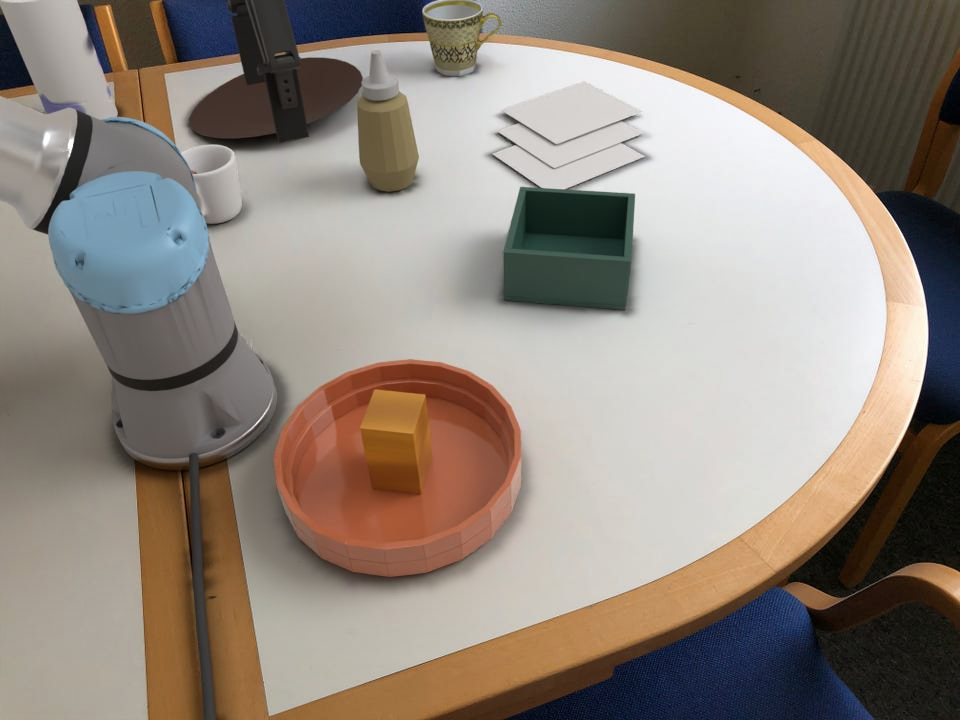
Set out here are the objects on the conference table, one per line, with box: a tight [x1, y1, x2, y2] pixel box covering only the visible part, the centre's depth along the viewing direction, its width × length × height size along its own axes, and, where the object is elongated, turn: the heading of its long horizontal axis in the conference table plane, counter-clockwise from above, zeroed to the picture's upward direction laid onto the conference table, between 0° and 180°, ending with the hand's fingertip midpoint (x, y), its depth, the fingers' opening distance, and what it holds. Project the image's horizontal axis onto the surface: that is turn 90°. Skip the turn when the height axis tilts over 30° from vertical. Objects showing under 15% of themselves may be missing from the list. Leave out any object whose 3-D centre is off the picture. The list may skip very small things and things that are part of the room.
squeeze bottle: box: [356, 49, 420, 193], centre depth 103 cm, size 8×8×18 cm
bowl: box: [273, 358, 522, 578], centre depth 70 cm, size 21×21×4 cm
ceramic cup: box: [421, 0, 502, 77], centre depth 133 cm, size 13×10×10 cm
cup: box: [180, 144, 243, 225], centre depth 101 cm, size 11×8×8 cm
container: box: [0, 0, 119, 120], centre depth 120 cm, size 10×10×20 cm
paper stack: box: [492, 80, 645, 190], centre depth 117 cm, size 23×25×1 cm
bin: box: [502, 186, 636, 311], centre depth 91 cm, size 14×14×7 cm
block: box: [360, 390, 432, 494], centre depth 68 cm, size 4×4×8 cm
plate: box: [188, 56, 364, 139], centre depth 126 cm, size 28×28×4 cm
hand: (275, 108), depth 76 cm, fingers open, 13 cm apart
